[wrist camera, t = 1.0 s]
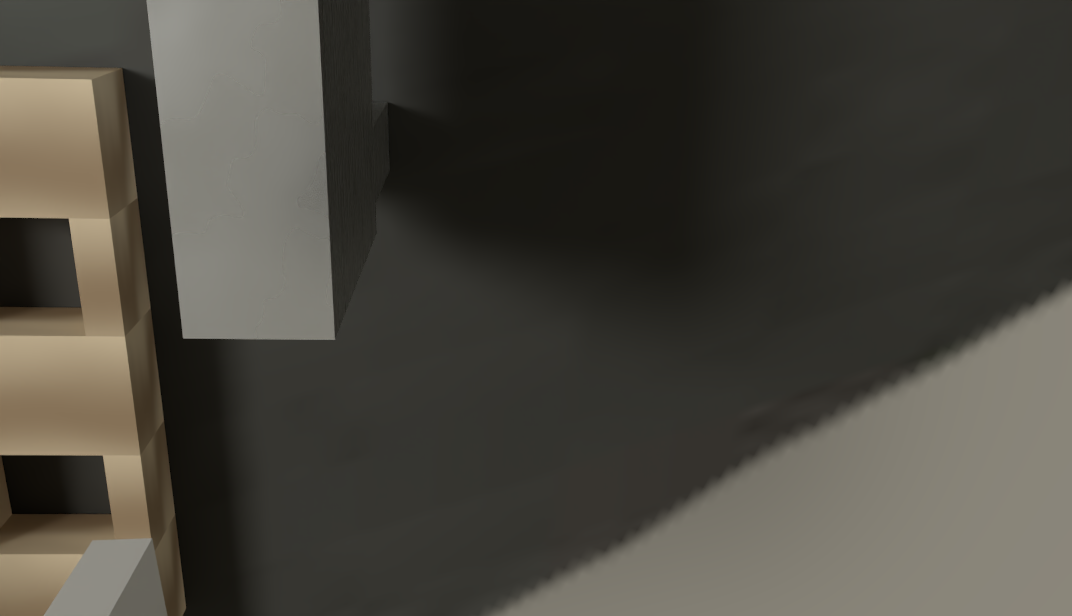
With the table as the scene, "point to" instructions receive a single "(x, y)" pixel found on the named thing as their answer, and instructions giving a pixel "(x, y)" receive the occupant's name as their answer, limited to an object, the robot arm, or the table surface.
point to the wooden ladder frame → (80, 335)
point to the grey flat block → (268, 161)
